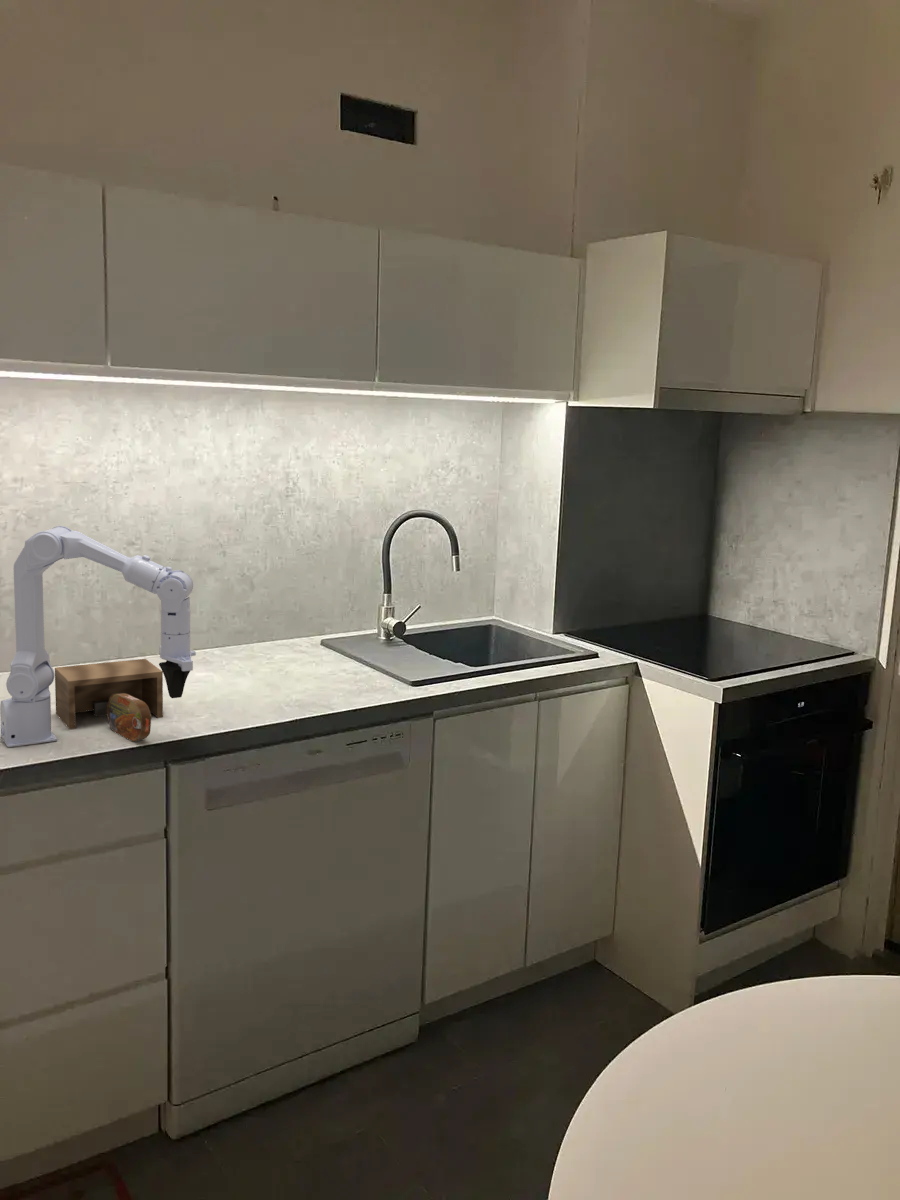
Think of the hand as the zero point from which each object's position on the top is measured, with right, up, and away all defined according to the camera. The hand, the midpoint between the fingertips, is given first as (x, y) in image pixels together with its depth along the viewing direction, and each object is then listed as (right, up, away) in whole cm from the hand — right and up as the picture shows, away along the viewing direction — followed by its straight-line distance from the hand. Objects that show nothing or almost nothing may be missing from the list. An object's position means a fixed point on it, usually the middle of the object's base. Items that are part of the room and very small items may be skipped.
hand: (175, 697), depth 206 cm
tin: (-12, -9, +7) cm, 16 cm away
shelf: (-20, -6, +19) cm, 28 cm away
